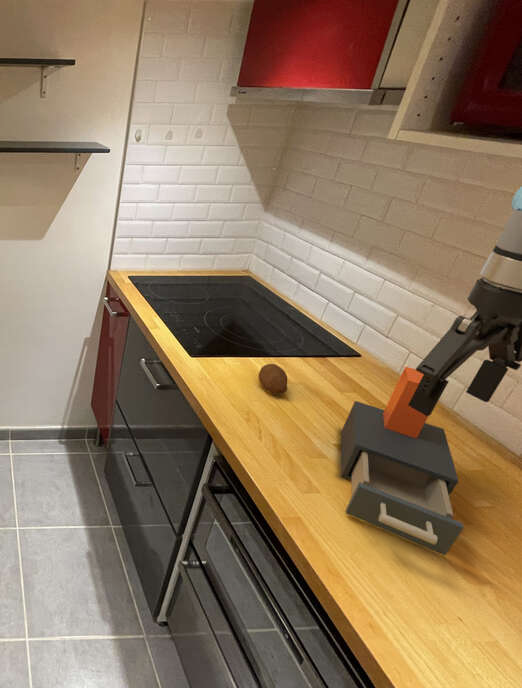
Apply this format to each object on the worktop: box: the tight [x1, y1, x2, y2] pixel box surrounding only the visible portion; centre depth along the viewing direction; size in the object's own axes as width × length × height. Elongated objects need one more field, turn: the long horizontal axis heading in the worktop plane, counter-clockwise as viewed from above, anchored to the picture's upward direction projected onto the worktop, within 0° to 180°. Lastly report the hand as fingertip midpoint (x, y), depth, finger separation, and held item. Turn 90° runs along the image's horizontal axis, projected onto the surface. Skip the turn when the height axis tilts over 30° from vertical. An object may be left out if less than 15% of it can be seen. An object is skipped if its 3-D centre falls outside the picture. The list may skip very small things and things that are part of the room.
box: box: [383, 366, 429, 438], centre depth 90 cm, size 5×6×12 cm
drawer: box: [345, 450, 465, 557], centre depth 81 cm, size 20×14×7 cm
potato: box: [258, 363, 288, 395], centre depth 117 cm, size 7×10×6 cm
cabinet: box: [340, 400, 460, 497], centre depth 92 cm, size 17×15×9 cm
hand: (448, 403), depth 73 cm, fingers open, 13 cm apart
